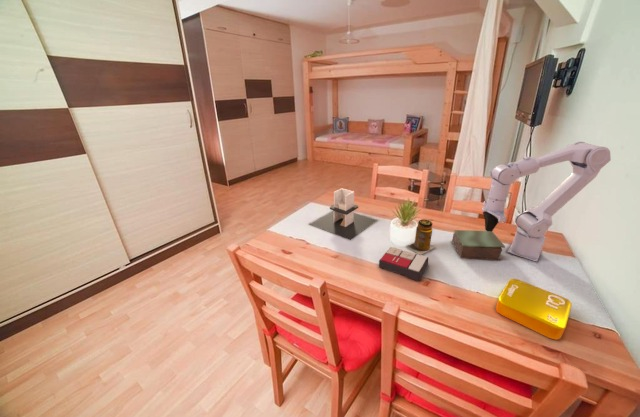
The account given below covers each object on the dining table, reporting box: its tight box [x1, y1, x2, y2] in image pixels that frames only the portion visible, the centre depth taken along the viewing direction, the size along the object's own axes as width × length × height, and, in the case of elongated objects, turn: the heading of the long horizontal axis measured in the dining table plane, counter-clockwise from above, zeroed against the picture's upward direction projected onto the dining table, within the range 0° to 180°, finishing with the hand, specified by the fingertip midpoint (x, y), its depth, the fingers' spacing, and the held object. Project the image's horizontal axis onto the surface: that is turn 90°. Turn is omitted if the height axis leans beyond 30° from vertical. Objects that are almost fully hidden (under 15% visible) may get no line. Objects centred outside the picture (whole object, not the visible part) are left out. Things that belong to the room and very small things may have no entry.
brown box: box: [451, 231, 503, 261], centre depth 105 cm, size 14×12×5 cm
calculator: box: [378, 246, 429, 282], centre depth 97 cm, size 11×4×15 cm
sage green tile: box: [453, 229, 506, 249], centre depth 103 cm, size 14×12×1 cm
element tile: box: [495, 278, 572, 341], centre depth 76 cm, size 15×15×5 cm
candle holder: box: [309, 188, 378, 241], centre depth 129 cm, size 25×24×16 cm
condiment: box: [406, 218, 434, 256], centre depth 107 cm, size 7×8×12 cm
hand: (488, 230), depth 101 cm, fingers closed
